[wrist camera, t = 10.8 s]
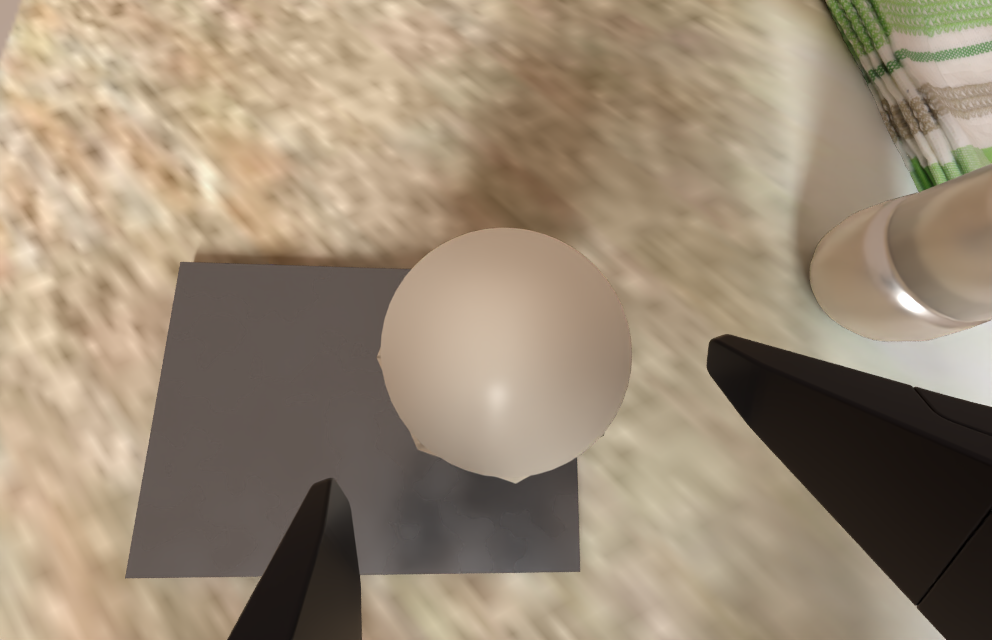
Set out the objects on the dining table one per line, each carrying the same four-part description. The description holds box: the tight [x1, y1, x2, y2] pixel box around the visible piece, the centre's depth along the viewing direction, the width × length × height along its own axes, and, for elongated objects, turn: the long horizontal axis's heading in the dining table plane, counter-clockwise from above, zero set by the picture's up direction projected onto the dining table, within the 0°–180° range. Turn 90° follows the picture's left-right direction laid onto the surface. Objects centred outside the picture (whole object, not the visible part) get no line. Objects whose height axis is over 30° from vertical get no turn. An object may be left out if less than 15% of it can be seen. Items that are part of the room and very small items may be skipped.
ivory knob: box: [376, 228, 632, 484], centre depth 15 cm, size 6×6×10 cm
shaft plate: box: [125, 262, 580, 578], centre depth 18 cm, size 18×13×4 cm
